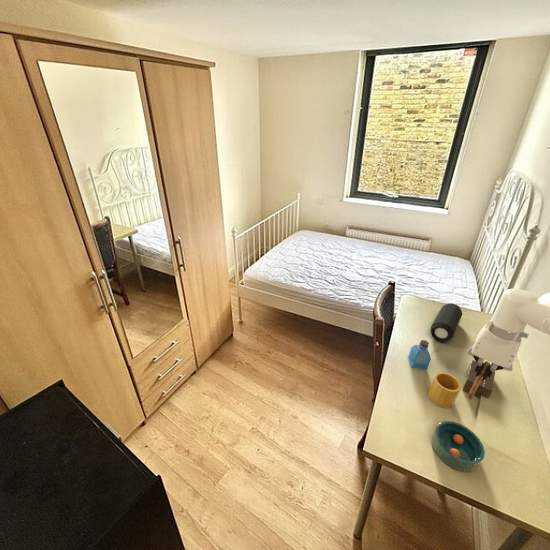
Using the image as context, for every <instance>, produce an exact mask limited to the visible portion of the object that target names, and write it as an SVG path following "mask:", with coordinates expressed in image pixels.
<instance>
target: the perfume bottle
mask: <svg viewBox="0 0 550 550" xmlns="http://www.w3.org/2000/svg"><path fill="white" fill-rule="evenodd" d="M429 345H430V343H429V341H427V340H425V339H421V340H420V342H419V344H415V345H413V346H411V347H410V351H409V353H408V356H407V358H409V359H408V362H409V365H410V367H411V366H412V367H411V369H417V368H418V370H426V369H427V370H428V369H429V366H430V363H431V361H432V360H431V359H432V358H431V354H430V352H429V349H428V348H429Z"/></svg>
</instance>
